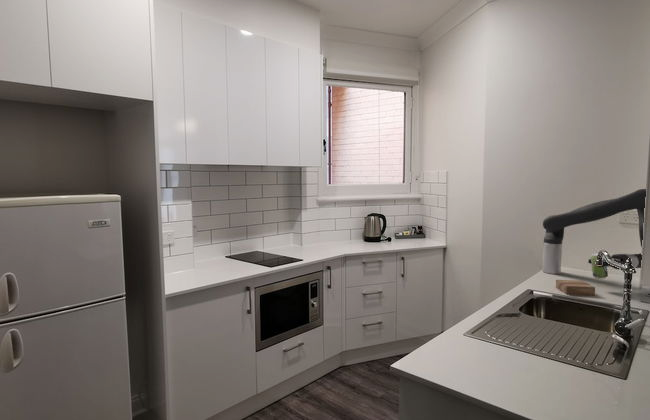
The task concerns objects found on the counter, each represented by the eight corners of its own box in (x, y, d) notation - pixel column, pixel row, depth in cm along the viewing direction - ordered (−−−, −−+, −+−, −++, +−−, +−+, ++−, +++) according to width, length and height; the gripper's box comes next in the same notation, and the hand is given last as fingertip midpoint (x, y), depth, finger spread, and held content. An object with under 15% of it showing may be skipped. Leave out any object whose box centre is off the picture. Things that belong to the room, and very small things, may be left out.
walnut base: (555, 287, 191) (556, 279, 191) (582, 288, 189) (582, 280, 189) (566, 294, 179) (566, 286, 179) (594, 296, 177) (595, 287, 177)
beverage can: (610, 279, 184) (612, 255, 183) (595, 279, 184) (596, 255, 183) (601, 275, 190) (603, 252, 189) (586, 276, 190) (588, 252, 189)
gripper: (611, 251, 196) (582, 252, 193) (638, 257, 182) (608, 258, 179) (610, 265, 197) (581, 266, 194) (637, 272, 183) (607, 273, 180)
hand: (594, 262), depth 186 cm, fingers closed on beverage can, 5 cm apart
